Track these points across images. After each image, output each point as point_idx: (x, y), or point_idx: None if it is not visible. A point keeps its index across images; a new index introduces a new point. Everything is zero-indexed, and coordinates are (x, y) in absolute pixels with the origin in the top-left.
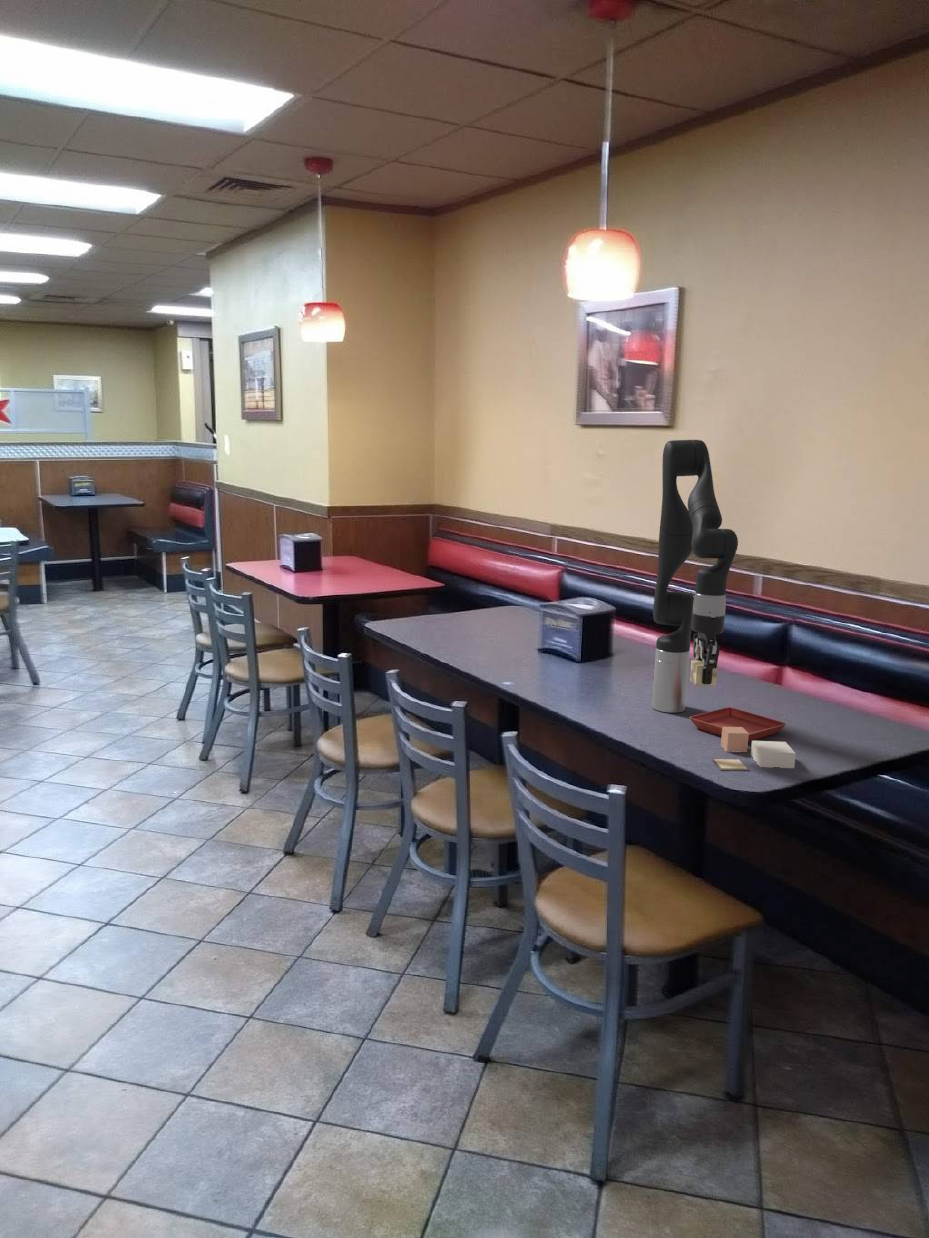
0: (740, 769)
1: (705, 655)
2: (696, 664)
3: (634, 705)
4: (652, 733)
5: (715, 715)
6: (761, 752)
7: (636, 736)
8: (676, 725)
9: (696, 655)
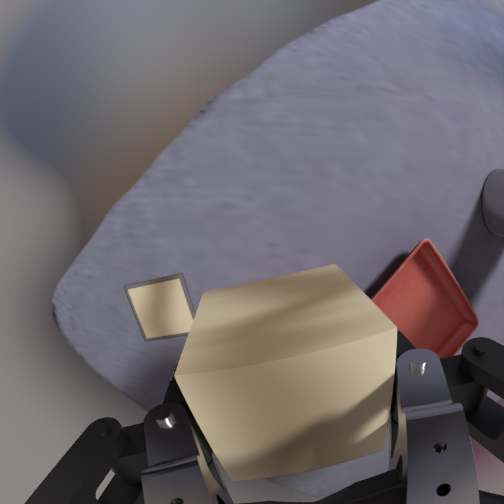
0: (141, 324)
1: (390, 459)
2: (219, 375)
3: (500, 136)
4: (353, 137)
5: (456, 296)
6: (171, 379)
7: (317, 95)
8: (421, 205)
9: (432, 392)
